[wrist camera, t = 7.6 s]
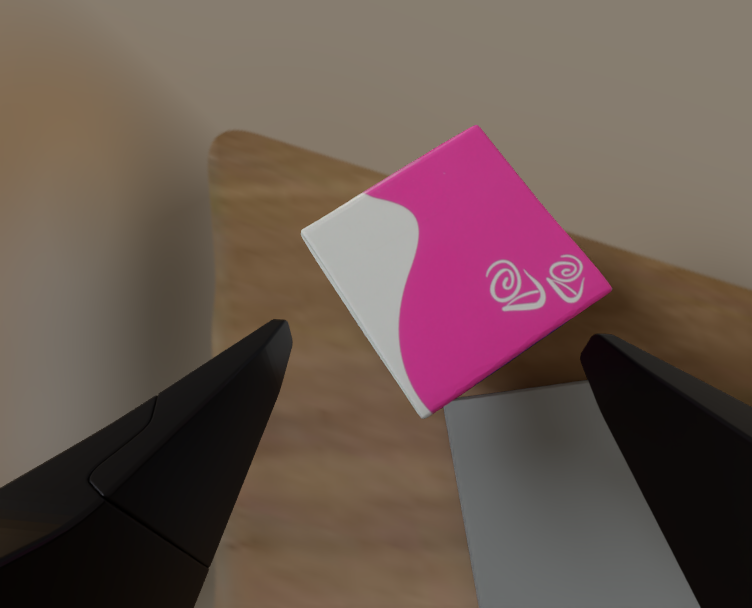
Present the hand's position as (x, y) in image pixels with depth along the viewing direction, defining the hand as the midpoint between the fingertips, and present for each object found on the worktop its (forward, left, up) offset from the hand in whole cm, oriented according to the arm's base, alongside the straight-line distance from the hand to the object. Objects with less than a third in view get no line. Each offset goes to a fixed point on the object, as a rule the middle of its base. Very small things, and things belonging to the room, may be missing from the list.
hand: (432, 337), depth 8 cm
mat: (-10, -8, -9) cm, 16 cm away
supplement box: (+2, 0, -10) cm, 10 cm away
